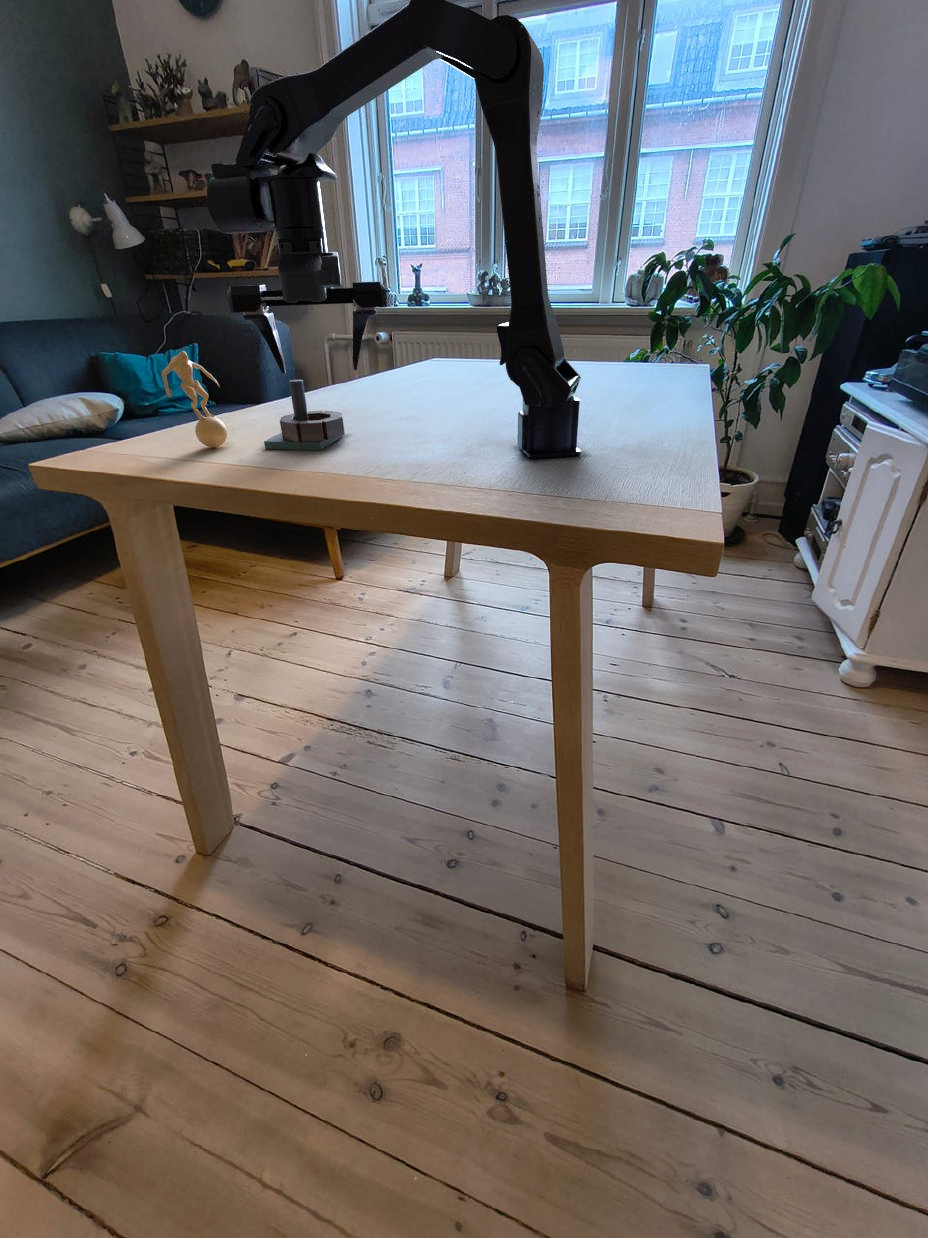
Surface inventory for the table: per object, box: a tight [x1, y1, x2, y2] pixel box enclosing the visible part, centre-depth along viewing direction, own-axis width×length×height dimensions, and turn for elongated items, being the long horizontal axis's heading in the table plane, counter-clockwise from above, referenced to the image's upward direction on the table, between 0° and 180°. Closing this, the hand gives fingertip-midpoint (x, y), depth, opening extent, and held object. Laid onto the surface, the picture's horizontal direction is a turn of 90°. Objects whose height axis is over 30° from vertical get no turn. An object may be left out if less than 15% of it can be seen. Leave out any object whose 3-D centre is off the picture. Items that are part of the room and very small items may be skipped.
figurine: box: [161, 350, 228, 448], centre depth 78 cm, size 8×6×12 cm
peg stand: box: [263, 379, 343, 451], centre depth 80 cm, size 8×8×8 cm
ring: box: [279, 410, 346, 442], centre depth 81 cm, size 8×8×2 cm
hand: (320, 371), depth 78 cm, fingers open, 9 cm apart
